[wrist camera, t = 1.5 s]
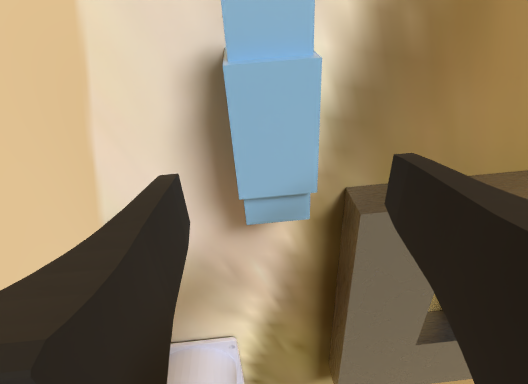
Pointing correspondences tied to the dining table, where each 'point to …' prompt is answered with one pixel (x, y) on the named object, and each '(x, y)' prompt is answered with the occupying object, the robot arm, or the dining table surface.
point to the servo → (273, 105)
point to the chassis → (391, 299)
